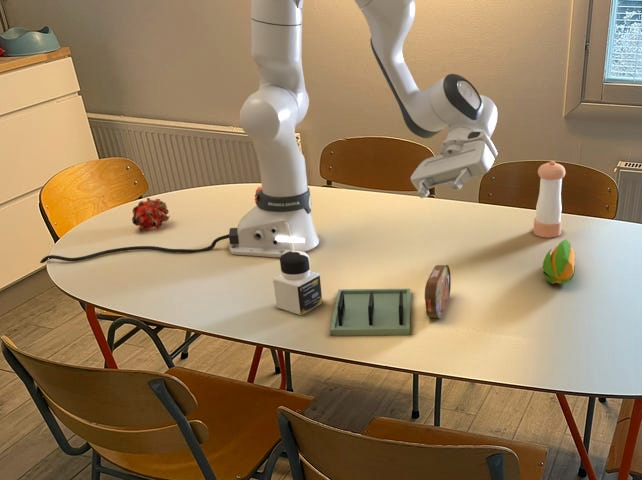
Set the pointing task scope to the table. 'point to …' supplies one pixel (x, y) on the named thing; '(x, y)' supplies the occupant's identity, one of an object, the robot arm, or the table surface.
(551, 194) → the pepper shaker
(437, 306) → the tin
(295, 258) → the medicine bottle
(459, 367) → the table surface
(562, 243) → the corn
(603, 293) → the table surface
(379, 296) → the drying rack
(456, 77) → the robot arm
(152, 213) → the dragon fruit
